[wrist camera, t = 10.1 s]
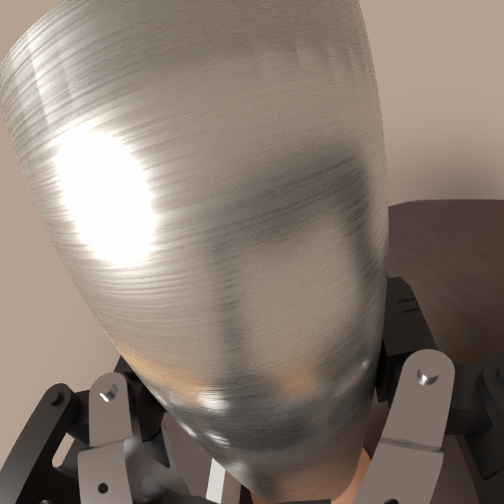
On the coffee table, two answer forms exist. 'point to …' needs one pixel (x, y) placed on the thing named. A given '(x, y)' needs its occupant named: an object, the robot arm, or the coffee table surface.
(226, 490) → the acrylic wall
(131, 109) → the metal tin
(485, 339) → the coffee table surface
